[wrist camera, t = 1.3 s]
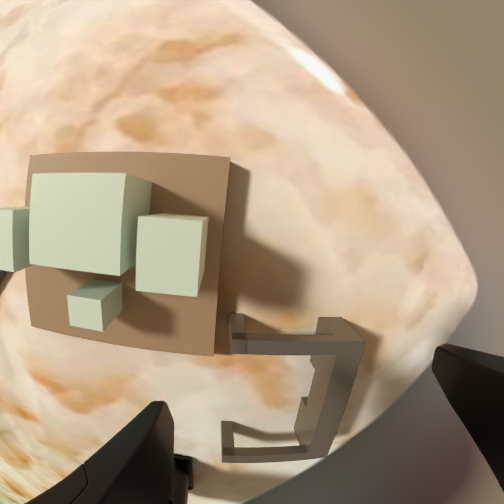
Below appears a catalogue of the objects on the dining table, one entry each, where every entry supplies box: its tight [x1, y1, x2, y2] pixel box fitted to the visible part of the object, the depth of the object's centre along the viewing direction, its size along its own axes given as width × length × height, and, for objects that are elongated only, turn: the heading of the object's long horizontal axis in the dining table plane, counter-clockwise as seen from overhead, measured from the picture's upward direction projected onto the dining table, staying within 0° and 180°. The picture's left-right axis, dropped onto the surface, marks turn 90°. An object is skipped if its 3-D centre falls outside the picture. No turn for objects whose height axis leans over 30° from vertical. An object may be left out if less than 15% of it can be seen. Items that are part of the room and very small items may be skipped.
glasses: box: [221, 313, 365, 463], centre depth 20 cm, size 9×12×4 cm
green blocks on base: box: [0, 152, 230, 356], centre depth 16 cm, size 14×16×8 cm
